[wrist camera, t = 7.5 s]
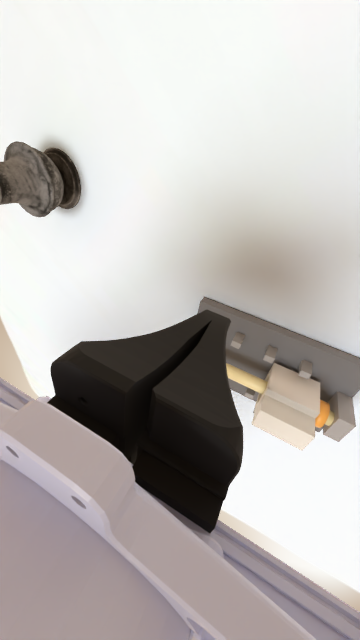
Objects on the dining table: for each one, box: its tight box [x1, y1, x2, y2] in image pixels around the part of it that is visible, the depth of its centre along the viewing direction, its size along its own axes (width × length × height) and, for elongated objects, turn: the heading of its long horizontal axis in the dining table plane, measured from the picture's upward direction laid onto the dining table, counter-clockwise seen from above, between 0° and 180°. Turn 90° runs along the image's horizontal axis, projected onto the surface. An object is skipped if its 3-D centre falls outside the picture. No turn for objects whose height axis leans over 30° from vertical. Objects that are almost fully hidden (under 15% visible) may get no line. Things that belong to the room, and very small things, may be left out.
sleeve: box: [252, 363, 320, 450], centre depth 21 cm, size 3×4×5 cm
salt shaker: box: [0, 142, 81, 217], centre depth 20 cm, size 6×6×12 cm
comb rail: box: [198, 297, 360, 442], centre depth 23 cm, size 9×15×4 cm, turn 80°
